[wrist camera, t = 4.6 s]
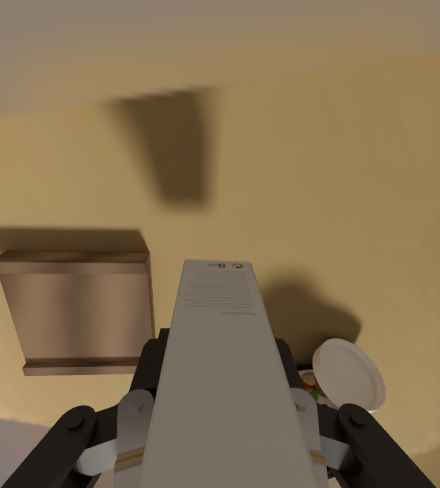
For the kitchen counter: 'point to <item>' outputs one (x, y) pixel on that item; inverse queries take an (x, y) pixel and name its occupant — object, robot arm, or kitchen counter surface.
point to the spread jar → (343, 380)
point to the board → (79, 310)
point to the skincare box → (223, 392)
